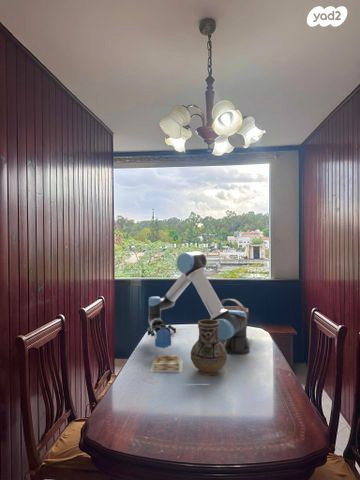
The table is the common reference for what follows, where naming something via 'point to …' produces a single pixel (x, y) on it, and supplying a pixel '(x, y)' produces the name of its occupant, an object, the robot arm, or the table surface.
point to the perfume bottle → (163, 337)
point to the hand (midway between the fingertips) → (164, 335)
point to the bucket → (237, 308)
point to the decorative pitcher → (208, 348)
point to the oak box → (166, 362)
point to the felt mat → (168, 370)
